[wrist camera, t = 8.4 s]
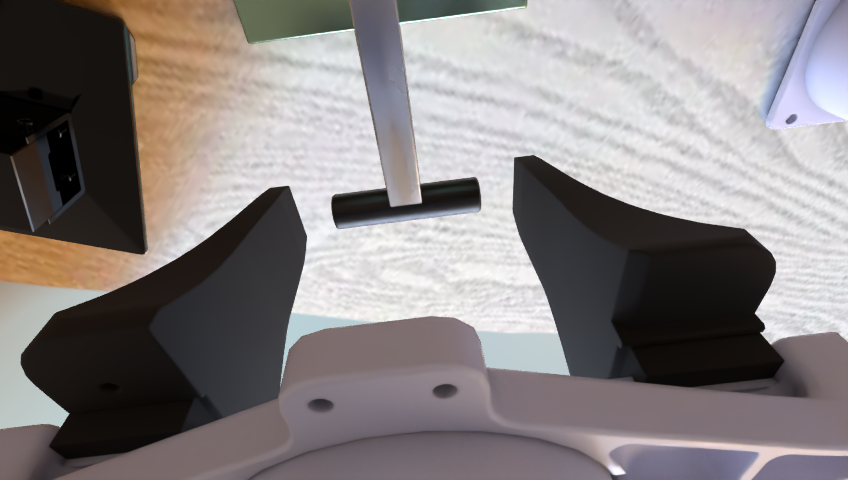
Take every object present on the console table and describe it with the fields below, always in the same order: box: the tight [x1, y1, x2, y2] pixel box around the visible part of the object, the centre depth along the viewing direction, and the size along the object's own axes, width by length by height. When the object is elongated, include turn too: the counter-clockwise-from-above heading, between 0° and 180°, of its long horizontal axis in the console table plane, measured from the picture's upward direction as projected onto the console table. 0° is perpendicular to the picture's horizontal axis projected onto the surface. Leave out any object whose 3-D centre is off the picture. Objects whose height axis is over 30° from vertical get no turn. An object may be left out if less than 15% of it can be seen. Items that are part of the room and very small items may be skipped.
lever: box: [331, 0, 481, 229], centre depth 11 cm, size 12×5×2 cm, turn 6°
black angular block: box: [0, 0, 148, 255], centre depth 18 cm, size 12×7×5 cm, turn 162°
